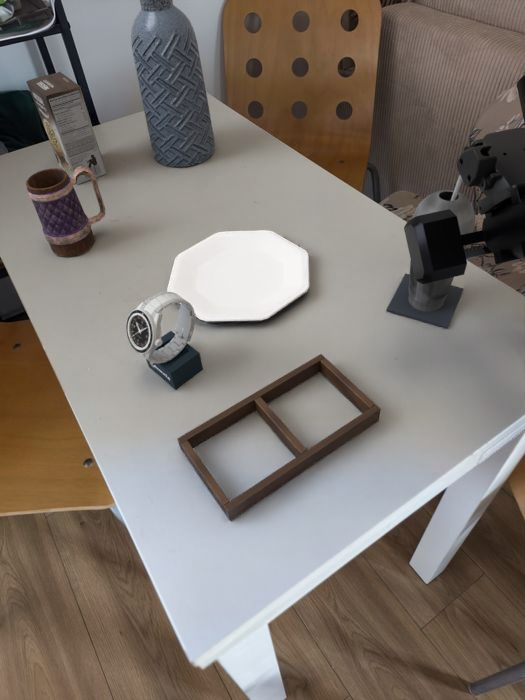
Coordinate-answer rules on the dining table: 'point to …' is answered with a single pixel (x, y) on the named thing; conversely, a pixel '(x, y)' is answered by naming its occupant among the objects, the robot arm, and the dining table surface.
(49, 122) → the coffee box
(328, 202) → the dining table surface
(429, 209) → the beverage cup
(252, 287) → the plate
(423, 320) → the coaster
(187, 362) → the watch
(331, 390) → the dining table surface
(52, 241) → the mug
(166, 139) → the vase
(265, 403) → the frame
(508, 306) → the dining table surface
